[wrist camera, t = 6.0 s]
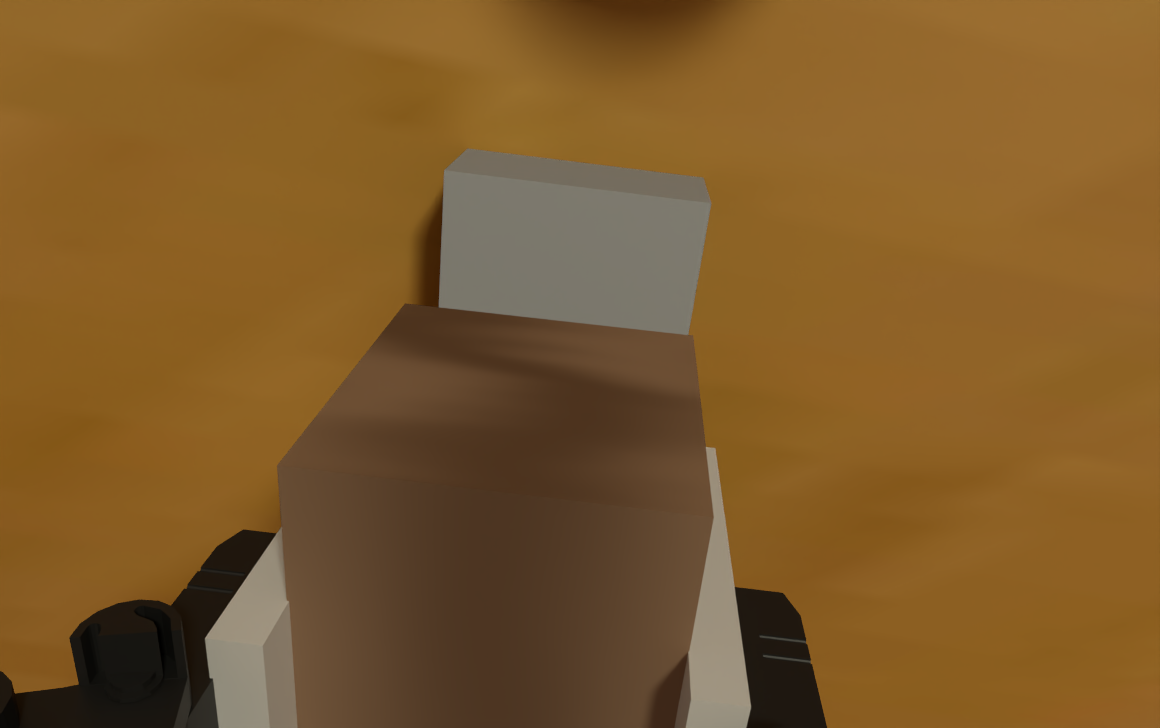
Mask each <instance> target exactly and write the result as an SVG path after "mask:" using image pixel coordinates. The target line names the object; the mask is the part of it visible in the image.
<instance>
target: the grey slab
mask: <svg viewBox="0 0 1160 728" xmlns="http://www.w3.org/2000/svg"><path fill="white" fill-rule="evenodd" d="M710 207H711V201H710V198H709V194H708V191H707V188H706V185H705V181H704V178H701V177H693V176H685V175H677V174H669V173H661V172H653V171H645V170H637V169H628V168H620V167H612V166H604V165H596V164H588V163H580V162H572V161H564V160H556V159H547V158H539V157H531V156H523V155H515V154H507V153H499V152H491V151H483V150H475V149H467V150H466V151H465V152H463V153H462V154H461V155H460V156H459V157H458V158H457V159H456V160H455V161H454V162H453V163H452V164H451V165H449V166H448V167H447V168H446V169H445V170H444V189H443V214H442V238H441V263H440V287H439V307H440V308H449V309H458V310H467V311H476V312H485V313H494V314H503V315H512V316H521V317H530V318H539V319H548V320H557V321H566V322H575V323H584V324H593V325H602V326H611V327H620V328H629V329H638V330H647V331H656V332H665V333H674V334H683V335H688V333H689V327H690V322H691V316H692V310H693V304H694V299H695V293H696V287H697V282H698V276H699V270H700V264H701V259H702V253H703V247H704V242H705V236H706V230H707V225H708V219H709V213H710Z"/></svg>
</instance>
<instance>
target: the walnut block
mask: <svg viewBox="0 0 1160 728" xmlns="http://www.w3.org/2000/svg"><path fill="white" fill-rule="evenodd" d="M277 469H278V483H279V498H280V512H281V526H282V540H283V555H284V569H285V583H286V598H287V601H289V608H290V623H291V638H292V653H293V668H294V683H295V698H296V713H297V728H674V727H675V721H676V716H677V710H678V705H679V700H680V694H681V689H682V683H683V678H684V673H685V667H686V662H687V656H688V651H689V650H690V645H691V639H692V634H693V628H694V623H695V617H696V612H697V606H698V601H699V596H700V590H701V585H702V579H703V574H704V568H705V563H706V557H707V552H708V547H709V541H710V536H711V530H712V525H713V519H714V515H713V506H712V497H711V488H710V480H709V471H708V462H707V453H706V445H705V436H704V427H703V418H702V410H701V401H700V392H699V384H698V375H697V366H696V357H695V349H694V340H693V336H692V335H683V334H674V333H665V332H656V331H647V330H638V329H629V328H620V327H611V326H602V325H593V324H584V323H575V322H566V321H557V320H548V319H539V318H530V317H521V316H512V315H503V314H494V313H485V312H476V311H467V310H458V309H449V308H440V307H431V306H422V305H413V304H404V306H403V307H402V308H401V309H400V311H399V312H398V313H397V315H396V316H395V317H394V318H393V320H392V321H391V322H390V323H389V325H388V326H387V327H386V328H385V330H384V331H383V332H382V334H381V335H380V336H379V337H378V339H377V340H376V341H375V342H374V344H373V345H372V346H371V347H370V349H369V350H368V351H367V353H366V354H365V355H364V356H363V358H362V359H361V360H360V361H359V363H358V364H357V365H356V366H355V368H354V369H353V370H352V371H351V373H350V374H349V375H348V377H347V378H346V379H345V380H344V382H343V383H342V384H341V385H340V387H339V388H338V389H337V390H336V392H335V393H334V394H333V396H332V397H331V398H330V399H329V401H328V402H327V403H326V404H325V406H324V407H323V408H322V409H321V411H320V412H319V413H318V415H317V416H316V417H315V418H314V420H313V421H312V422H311V423H310V425H309V426H308V427H307V428H306V430H305V431H304V432H303V434H302V435H301V436H300V437H299V439H298V440H297V441H296V442H295V444H294V445H293V446H292V447H291V449H290V450H289V451H288V453H287V454H286V455H285V456H284V458H283V459H282V460H281V461H280V463H279V464H278V465H277Z"/></svg>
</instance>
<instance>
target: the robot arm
mask: <svg viewBox="0 0 1160 728" xmlns="http://www.w3.org/2000/svg"><path fill="white" fill-rule="evenodd" d="M706 453H707V462H708V471H709V480H710V488H711V497H712V506H713V515H714V519H713V525H712V530H711V536H710V541H709V547H708V552H707V557H706V563H705V568H704V574H703V579H702V585H701V590H700V596H699V601H698V606H697V612H696V617H695V623H694V628H693V634H692V639H691V645H690V650H689V651H688V656H687V662H686V667H685V673H684V678H683V683H682V689H681V694H680V700H679V705H678V710H677V716H676V721H675V727H674V728H827V726H826V722H825V717H824V713H823V709H822V705H821V700H820V696H819V692H818V688H817V684H816V679H815V675H814V671H813V667H812V664H810V660H811V658H810V654H809V650H808V646H807V644H806V637H805V633H804V629H803V625H802V620H801V616H800V614H799V613H798V612H797V611H796V609H795V608H794V607H793V605H792V604H791V603H790V602H789V600H788V599H787V598H786V596H785V595H784V594H783V593H779V592H771V591H763V590H755V589H746V588H738V587H734V580H733V573H732V566H731V558H730V551H729V544H728V537H727V530H726V522H725V515H724V508H723V501H722V494H721V486H720V479H719V472H718V465H717V458H716V450H715V448H709V447H706ZM70 643H71V648H72V653H73V657H74V662H75V667H76V672H77V677H78V682H79V685H74V686H69V687H64V688H57V689H49V690H41V691H33V692H25V693H17V694H15V693H14V689H13V685H12V681H11V680H10V679H9V678H8V677H7V676H6V675H5V674H4V673H3V672H1V671H0V728H297V713H296V698H295V683H294V668H293V653H292V638H291V623H290V608H289V601H287V598H286V583H285V569H284V555H283V540H282V527H281V528H280V530H279V531H278V533H277V534H276V533H268V532H259V531H251V530H242V531H240V532H239V533H237V534H236V535H234V536H232V537H231V538H229V539H228V540H226V541H225V542H223V543H222V544H220V545H219V546H217V547H216V548H215V550H214V551H213V552H212V554H211V555H210V556H209V558H208V559H207V560H206V561H205V563H204V564H203V565H202V567H201V570H200V572H199V571H198V572H197V573H196V574H195V576H194V577H193V578H192V579H191V581H190V582H189V583H188V586H187V589H184V590H183V591H182V592H181V594H180V595H179V596H178V597H177V599H176V600H175V601H174V603H173V604H172V605H171V606H170V605H168V604H165V603H163V602H160V601H153V600H134V601H129V602H123V603H118V604H115V605H113V606H110V607H108V608H105V609H103V610H100V611H98V612H96V613H95V614H93V615H92V616H90V617H89V618H87V619H86V620H85V621H83V622H82V623H80V624H79V626H78V627H77V628H76V630H75V631H74V632H73V634H72V635H71V636H70Z"/></svg>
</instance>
